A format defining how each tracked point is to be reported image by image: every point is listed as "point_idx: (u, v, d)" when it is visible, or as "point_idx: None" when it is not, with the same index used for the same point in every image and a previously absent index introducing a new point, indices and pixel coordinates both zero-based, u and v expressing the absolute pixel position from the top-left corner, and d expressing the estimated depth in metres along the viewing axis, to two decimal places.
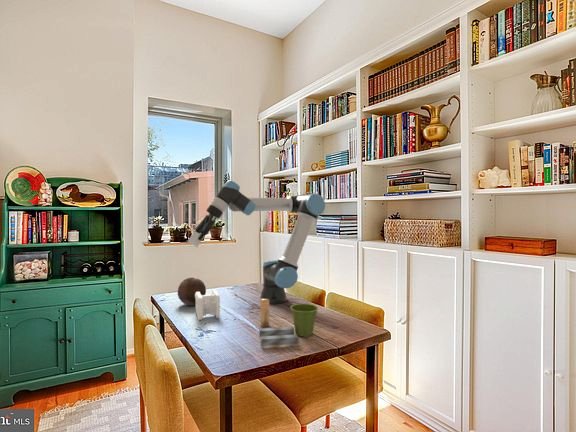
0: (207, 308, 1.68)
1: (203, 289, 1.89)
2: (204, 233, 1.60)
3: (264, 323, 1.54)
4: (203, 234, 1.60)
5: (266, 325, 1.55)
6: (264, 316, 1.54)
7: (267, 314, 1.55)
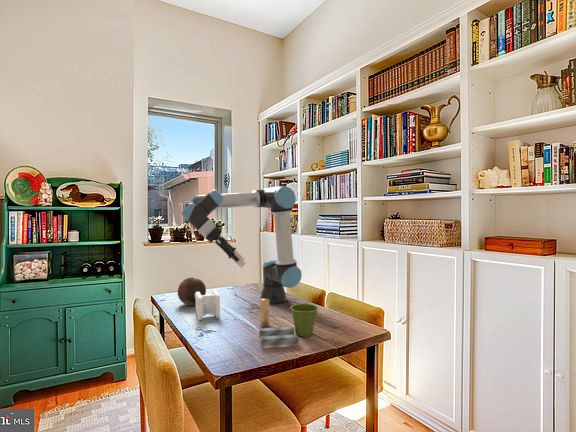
0: (207, 308, 1.68)
1: (203, 289, 1.89)
2: (232, 255, 1.53)
3: (264, 323, 1.54)
4: (233, 255, 1.53)
5: (266, 325, 1.55)
6: (264, 316, 1.54)
7: (267, 314, 1.55)
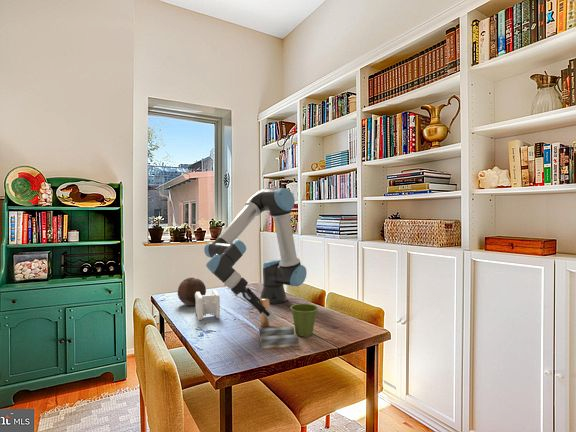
0: (207, 308, 1.68)
1: (203, 289, 1.89)
2: (263, 310, 1.51)
3: (264, 323, 1.54)
4: (264, 310, 1.52)
5: (266, 325, 1.55)
6: (264, 316, 1.54)
7: None
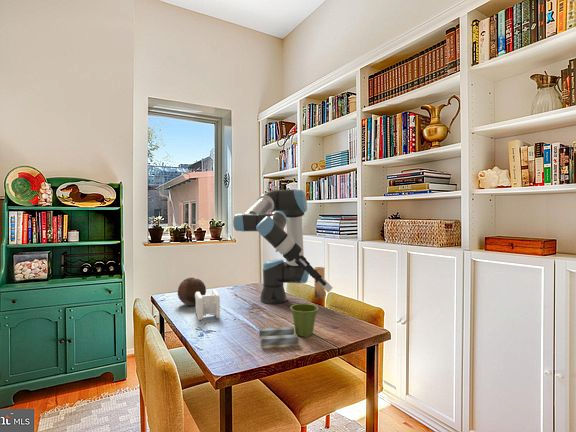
0: (207, 308, 1.68)
1: (203, 289, 1.89)
2: (319, 279, 1.36)
3: (320, 294, 1.39)
4: (320, 279, 1.36)
5: (321, 296, 1.39)
6: (319, 286, 1.39)
7: None
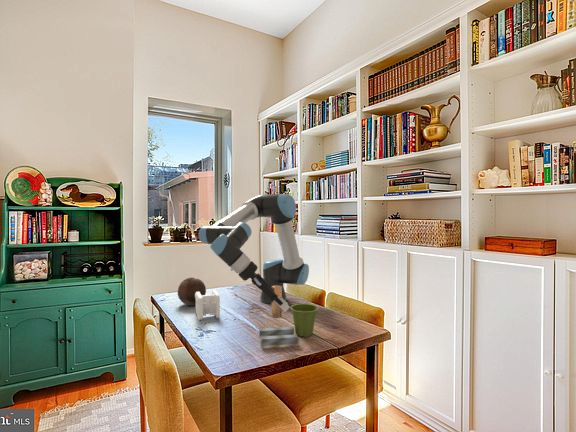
0: (207, 308, 1.68)
1: (203, 289, 1.89)
2: (275, 298, 1.32)
3: (276, 314, 1.35)
4: (276, 299, 1.33)
5: (278, 316, 1.35)
6: (276, 305, 1.35)
7: None
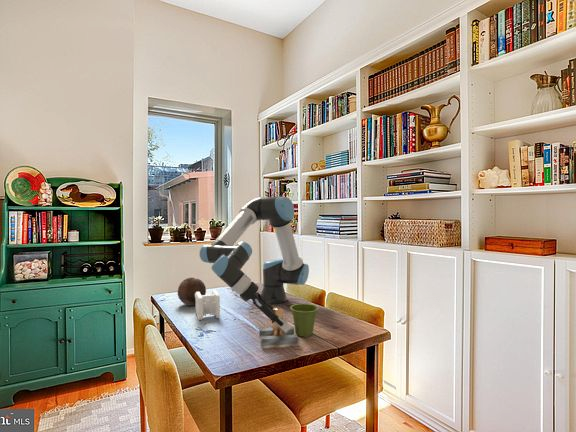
0: (207, 308, 1.68)
1: (203, 289, 1.89)
2: (276, 319, 1.32)
3: None
4: (277, 320, 1.33)
5: None
6: (277, 328, 1.36)
7: None
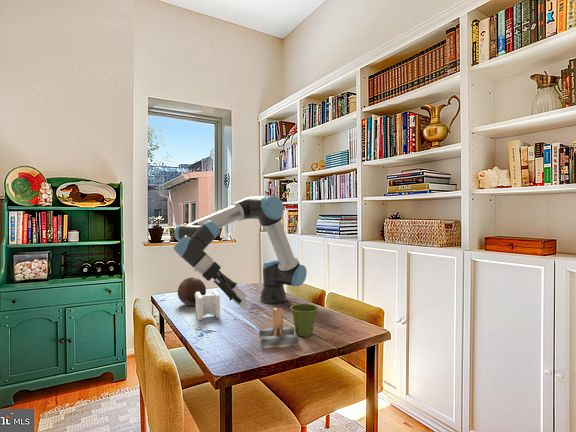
0: (207, 308, 1.68)
1: (203, 289, 1.89)
2: (233, 296, 1.33)
3: None
4: (234, 297, 1.34)
5: None
6: (277, 327, 1.36)
7: (280, 325, 1.37)
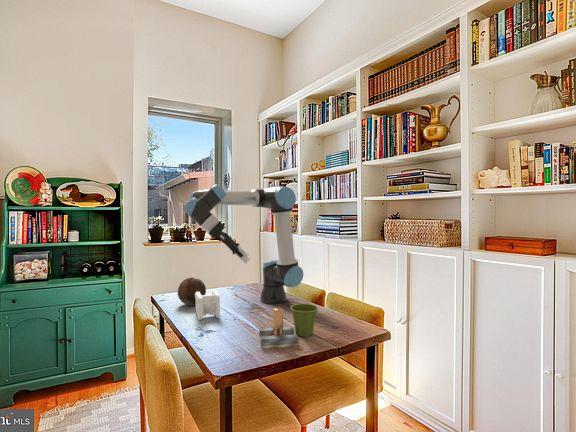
0: (207, 308, 1.68)
1: (203, 289, 1.89)
2: (236, 250, 1.49)
3: None
4: (237, 251, 1.50)
5: None
6: (277, 328, 1.36)
7: (281, 326, 1.36)
